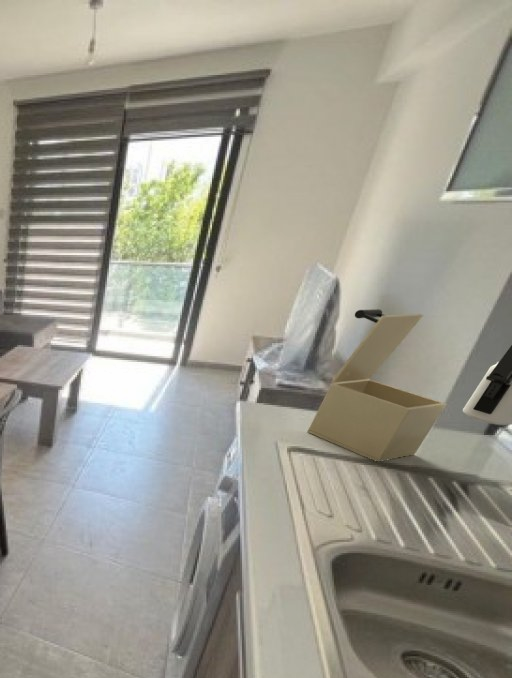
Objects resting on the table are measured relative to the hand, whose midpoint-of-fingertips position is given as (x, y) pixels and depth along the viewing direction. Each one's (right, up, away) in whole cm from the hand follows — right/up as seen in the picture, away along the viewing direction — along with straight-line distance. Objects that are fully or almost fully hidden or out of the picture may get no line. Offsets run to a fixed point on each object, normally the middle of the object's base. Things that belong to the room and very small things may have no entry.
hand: (493, 409), depth 104 cm
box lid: (-12, +16, +14) cm, 24 cm away
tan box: (-11, -7, +19) cm, 23 cm away
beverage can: (0, -2, +1) cm, 2 cm away
